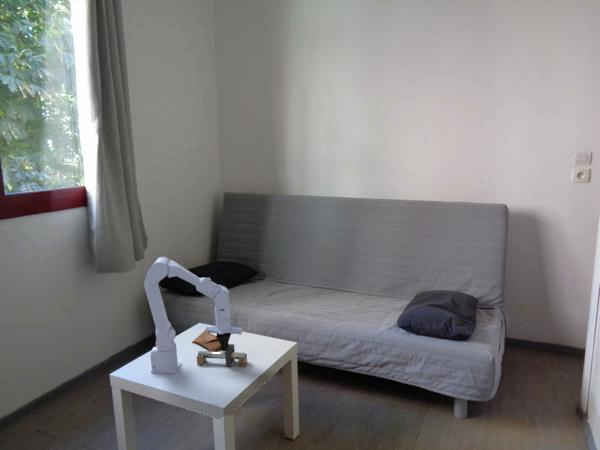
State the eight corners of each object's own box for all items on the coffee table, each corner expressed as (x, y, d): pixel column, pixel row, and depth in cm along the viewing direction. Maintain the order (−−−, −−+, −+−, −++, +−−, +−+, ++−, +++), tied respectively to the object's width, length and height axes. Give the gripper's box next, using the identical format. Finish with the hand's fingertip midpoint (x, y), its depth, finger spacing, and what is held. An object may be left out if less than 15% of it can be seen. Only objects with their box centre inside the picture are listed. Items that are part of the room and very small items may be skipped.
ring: (225, 365, 177) (225, 350, 176) (230, 358, 183) (229, 344, 182) (230, 366, 177) (229, 350, 176) (235, 359, 183) (234, 344, 181)
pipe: (197, 364, 180) (196, 353, 179) (200, 360, 184) (200, 348, 183) (244, 366, 177) (243, 355, 176) (247, 362, 181) (246, 350, 180)
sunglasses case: (189, 341, 201) (195, 327, 203) (201, 345, 206) (207, 330, 208) (213, 353, 189) (219, 338, 190) (225, 356, 194) (231, 341, 195)
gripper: (201, 321, 174) (203, 354, 176) (238, 322, 172) (239, 355, 174) (207, 314, 181) (209, 346, 183) (242, 315, 179) (244, 347, 181)
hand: (224, 350), depth 179 cm, fingers closed
